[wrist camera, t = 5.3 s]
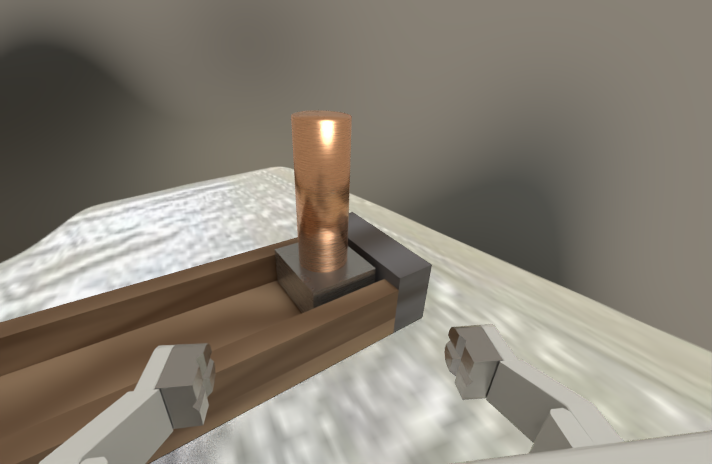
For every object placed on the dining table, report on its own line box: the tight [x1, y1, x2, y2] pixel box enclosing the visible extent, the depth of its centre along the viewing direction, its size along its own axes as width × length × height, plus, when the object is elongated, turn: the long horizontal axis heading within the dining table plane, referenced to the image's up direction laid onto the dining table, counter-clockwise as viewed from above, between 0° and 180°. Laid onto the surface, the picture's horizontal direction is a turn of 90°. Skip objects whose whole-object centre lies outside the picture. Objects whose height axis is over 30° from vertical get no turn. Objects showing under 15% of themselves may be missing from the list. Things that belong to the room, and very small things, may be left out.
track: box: [0, 212, 432, 464], centre depth 21 cm, size 10×30×5 cm, turn 125°
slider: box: [275, 111, 376, 313], centre depth 23 cm, size 6×5×13 cm
